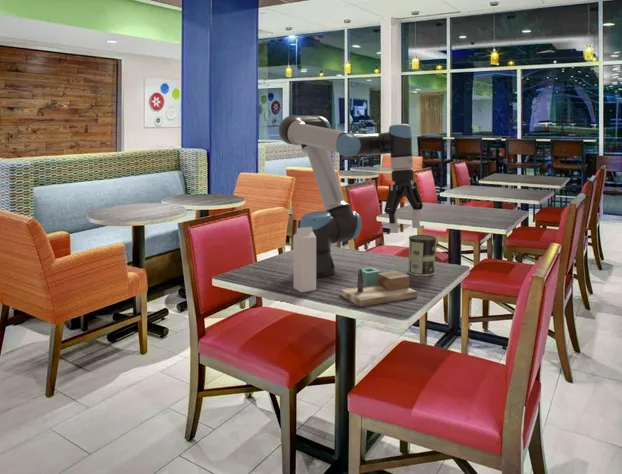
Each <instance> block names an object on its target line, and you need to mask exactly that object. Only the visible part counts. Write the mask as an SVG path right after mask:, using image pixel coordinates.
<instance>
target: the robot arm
mask: <svg viewBox="0 0 622 474" xmlns="http://www.w3.org/2000/svg"><path fill="white" fill-rule="evenodd" d="M411 128H412V127H411V125H410V124H407V123H401V124H392V125H390V126H389V127H388V132H382V133H381V132H380V133H354V132H347V131H342V130H337V129H333V128H332V125H331V124H330V122H329V121H328V119H327V118H325V117H324V116H321V115H317V114H313V115H312V114H311V115H302V114H301V115H300V114H299V115H297V114H296V115H295V114H293V115H289V116H286V117H284V118H283V119H282V120H281V122H280V124H279V125H278V134H279V137H280V139H281V141H283V142H284V143H286V144H287V145H294V146H299V145H300V147H301V149H302V152H303V153H304V154H306V155H307V156H308V159H309V163H310V165H311V169H312V172H313V175H314V179H315V183H316V184H317V189H318V192H319V195H320V198H321V201H322V205H323V207H324V210H318V211H310V212H307V213H304V214H303V215H302V216H301V218H300V225H299V228H304V227H312V231H313V233H314V234H315V236H316V278H325V277H329V276H333V275H334V274H336V273H335V272H336V266H335V263H334V260H333V257H332V253H331V252H332V251H331V246H332V244H336V243H337V244H338V243H342V242H349V241H352V240H354V239H357V237H359V235H360V233H361V230H362V223H363V222H362V218H361V216H360V214H359V213H357V211H354V210H352V207H351V204H350V203H348V202H346V201H345V197H344V194H343V192H342V189H341V185H340V182H339V179H338V177H337V173H336V170H335V167H334V164H333V160H332V157H331V155H330V151H331V152H334V153H335V152H336V153H338V154H339V155H340V156H343V157H357V156H379V155H380V156H381V155H387V154H390V169H391V170H392V171H391V173H390V174H391V181H392V182H393V183H394V184H389V185H388V194H387V196H386V202H385V207H384V210H383V211H384V213H385V214H387V215H388V221H389V233H390V234H398V233H399V227H398V225H399V222H398V213H396V212H397V210H398V207H399V205H400V203H401V200H402V199H403V197H405V198H406V199H407V201H408V203H409V205H410V206H411V208H412V209H411V225H412V226H411V227H412V229H420V228H421V223H420V221H421V220H420V215H421V214H420V210H422V209H423V206H424V204H423V201H422V198H421V196H420V192H419V189H418V184H417V182H415V181H414V178H415V176H414V170H413V168H414V167H413V166H414V164H413V161H414V160H413V139H412V138H413V136H412V129H411ZM412 181H414V182H412Z"/></svg>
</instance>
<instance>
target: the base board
mask: <svg viewBox="0 0 622 474" xmlns="http://www.w3.org/2000/svg"><path fill="white" fill-rule="evenodd" d="M358 269H359V273H358V272H357V286H355V287H348V288H343V289H340V296H341V297H343V298H345V299H347V300H348V301H350V302H352V303H354V304H355V305H356V306H359V307H364V306H365V307H367V306H371V305H372V306H373V305H377V304H383V303H389V302H390V303H391V302H395V301H401V300H408V299H413V298H418V290H415V289H412V288H410V287H409V288H403V289H397V290H387V289H385V288H383V287H381V286H379V285H377V284H375V285H368V286H363V273H362V269H363V268H358Z"/></svg>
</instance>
